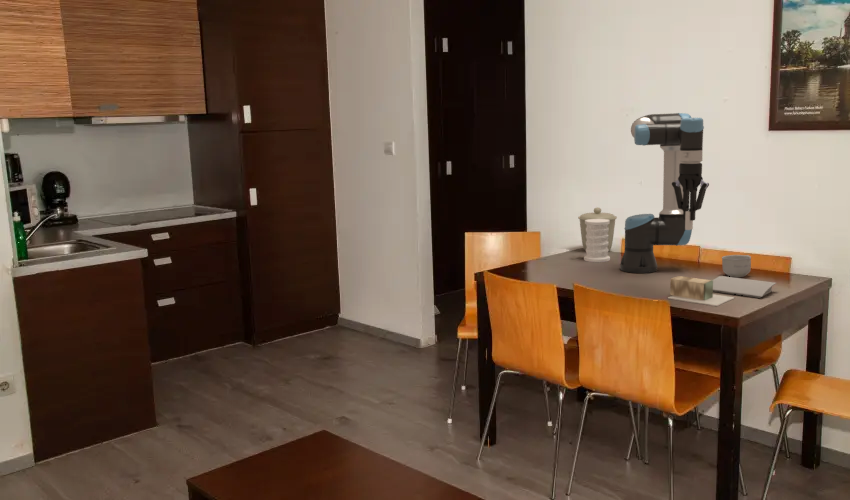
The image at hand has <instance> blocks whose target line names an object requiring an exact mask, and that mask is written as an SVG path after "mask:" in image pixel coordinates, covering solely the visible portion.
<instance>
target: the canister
mask: <svg viewBox="0 0 850 500" xmlns="http://www.w3.org/2000/svg"><path fill="white" fill-rule="evenodd" d="M617 218H618V217H617V216H615V214H613V213H610V212H609V213H608V212H602V208H600V207H597V206H596V207H595V208H594V209H593V212H587V213H586V212H585V213H582V214H581V215H580V216H578V219H579V227H580V228H579V229H580V237H581V245H582V249H583V250H584V251H586V248H587V246H586V241H587V239H586V234H587V232H586V227H587V225H586V224H585V220H588V219H607V220H610V223H609V224H608V228H609V231H608V236H609V237H608V243H609V244H608V250H609V251H610V250H611V249H612V246H613V241H614V234H615V225H616V220H617Z"/></svg>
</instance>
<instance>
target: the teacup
mask: <svg viewBox="0 0 850 500" xmlns="http://www.w3.org/2000/svg"><path fill="white" fill-rule="evenodd" d="M721 260H722V261H721V262H722V264H721V265H722V272H723V273H724V274H725V275H726V277H729V276H730V277H733V278H744V277H746V276H747V275H749V274H750V272H751V267H752V256H751V255H748V254H746V255H745V254H731V255H730V254H729V255H724V256H722V257H721Z"/></svg>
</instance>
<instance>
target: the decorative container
mask: <svg viewBox="0 0 850 500" xmlns="http://www.w3.org/2000/svg"><path fill="white" fill-rule="evenodd" d="M609 223H610V220H607V219H588V220H585V224H586V225H587V227H586V232H587V234H586V239H587V241H586V246H587V248H586V250H585V252H586V255H584V256H583V260H584V261H586V262H590V263H591V262H592V263H603V262H605V263H606V262H609V261H611V257H610V255H608V254H609V251H610V250H608V244H609V243H608V237H609V236H608V231H609V228H608V224H609Z"/></svg>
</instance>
